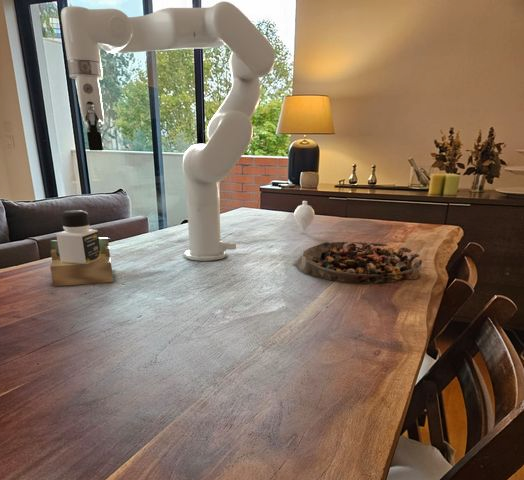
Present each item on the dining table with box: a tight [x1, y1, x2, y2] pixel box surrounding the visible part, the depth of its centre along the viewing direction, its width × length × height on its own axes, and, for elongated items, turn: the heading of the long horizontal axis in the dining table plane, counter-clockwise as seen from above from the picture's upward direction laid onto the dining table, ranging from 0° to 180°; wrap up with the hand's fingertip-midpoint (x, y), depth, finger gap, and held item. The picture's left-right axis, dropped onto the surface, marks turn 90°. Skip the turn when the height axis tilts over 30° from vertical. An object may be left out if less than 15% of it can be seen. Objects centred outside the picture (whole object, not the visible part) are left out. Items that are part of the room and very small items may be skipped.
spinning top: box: [293, 200, 315, 234], centre depth 173 cm, size 8×8×12 cm
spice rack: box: [49, 237, 114, 287], centre depth 116 cm, size 14×11×9 cm
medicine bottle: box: [55, 209, 101, 264], centre depth 112 cm, size 7×7×12 cm
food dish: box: [294, 241, 423, 284], centre depth 129 cm, size 35×33×8 cm
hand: (96, 149), depth 116 cm, fingers open, 9 cm apart
